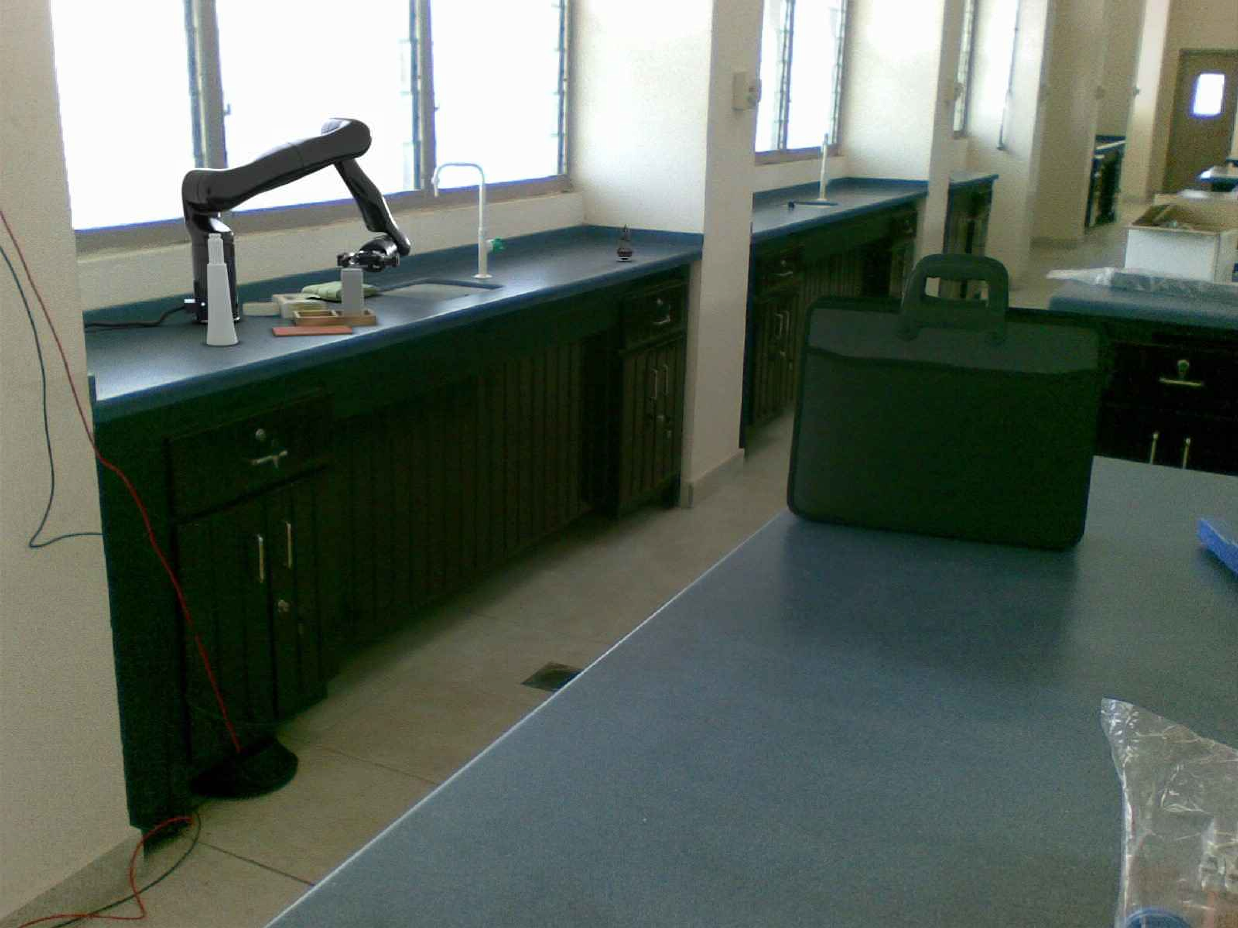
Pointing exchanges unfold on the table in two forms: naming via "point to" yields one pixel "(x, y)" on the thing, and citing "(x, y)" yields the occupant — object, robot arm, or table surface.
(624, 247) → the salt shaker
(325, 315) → the wooden compartment tray
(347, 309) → the grey rectangular block
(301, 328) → the mat
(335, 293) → the washcloth
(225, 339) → the cosmetic bottle
